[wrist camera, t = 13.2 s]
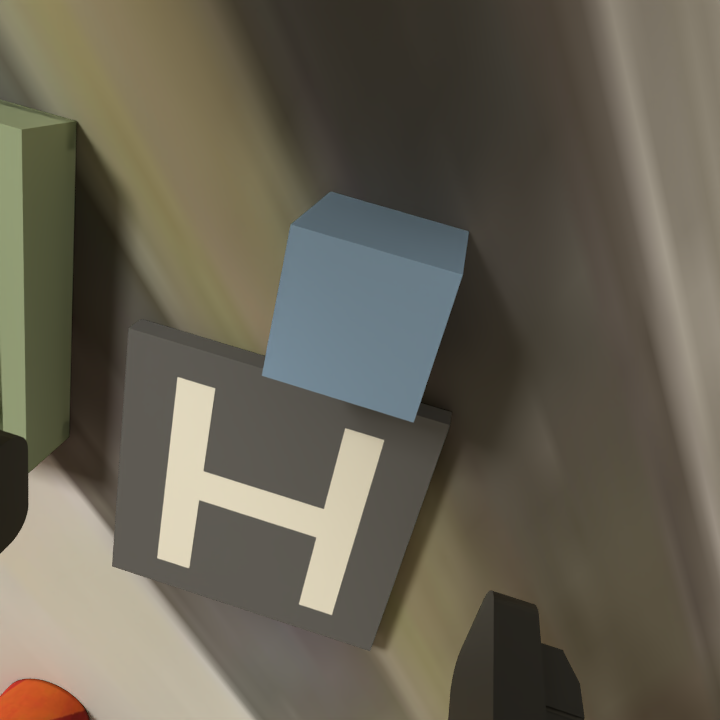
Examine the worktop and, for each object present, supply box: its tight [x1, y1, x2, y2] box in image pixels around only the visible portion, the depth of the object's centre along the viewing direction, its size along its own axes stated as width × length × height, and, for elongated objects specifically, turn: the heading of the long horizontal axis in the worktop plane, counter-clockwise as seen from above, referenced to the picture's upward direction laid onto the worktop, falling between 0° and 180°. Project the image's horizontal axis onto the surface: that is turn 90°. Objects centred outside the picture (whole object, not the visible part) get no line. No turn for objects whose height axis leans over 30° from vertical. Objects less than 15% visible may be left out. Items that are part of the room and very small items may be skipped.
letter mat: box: [112, 319, 452, 651], centre depth 28 cm, size 13×13×1 cm
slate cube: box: [262, 191, 469, 423], centre depth 21 cm, size 5×5×5 cm
